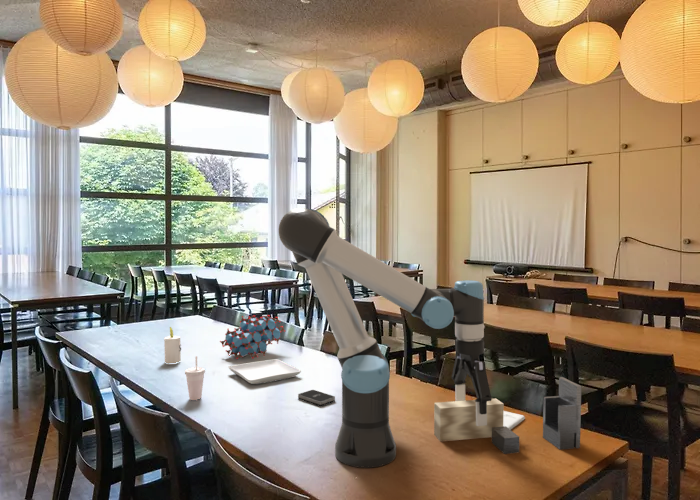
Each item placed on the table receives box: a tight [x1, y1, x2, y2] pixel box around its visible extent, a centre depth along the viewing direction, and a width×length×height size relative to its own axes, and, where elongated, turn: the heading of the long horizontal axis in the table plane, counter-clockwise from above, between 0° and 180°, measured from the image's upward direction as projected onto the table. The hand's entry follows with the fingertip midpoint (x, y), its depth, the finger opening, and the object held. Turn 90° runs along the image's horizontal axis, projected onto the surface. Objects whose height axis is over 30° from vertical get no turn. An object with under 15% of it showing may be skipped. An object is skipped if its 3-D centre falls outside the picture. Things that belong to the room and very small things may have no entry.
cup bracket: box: [542, 377, 582, 451], centre depth 135 cm, size 6×8×16 cm
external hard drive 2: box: [503, 410, 526, 431], centre depth 150 cm, size 2×8×12 cm
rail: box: [433, 398, 505, 442], centre depth 140 cm, size 18×4×9 cm, turn 101°
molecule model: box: [219, 314, 286, 360], centre depth 227 cm, size 16×14×25 cm
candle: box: [163, 326, 182, 363], centre depth 215 cm, size 6×6×15 cm
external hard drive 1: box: [297, 389, 336, 408], centre depth 168 cm, size 7×11×2 cm, turn 47°
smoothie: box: [184, 355, 206, 401], centre depth 170 cm, size 6×6×14 cm
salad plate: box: [228, 358, 302, 385], centre depth 196 cm, size 21×21×3 cm
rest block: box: [491, 426, 520, 455], centre depth 132 cm, size 4×7×4 cm, turn 11°
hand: (470, 416), depth 140 cm, fingers open, 13 cm apart
